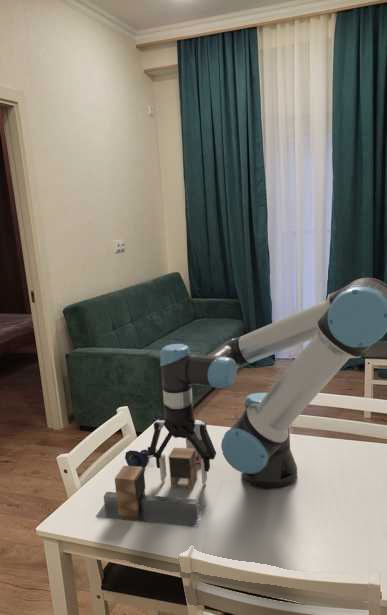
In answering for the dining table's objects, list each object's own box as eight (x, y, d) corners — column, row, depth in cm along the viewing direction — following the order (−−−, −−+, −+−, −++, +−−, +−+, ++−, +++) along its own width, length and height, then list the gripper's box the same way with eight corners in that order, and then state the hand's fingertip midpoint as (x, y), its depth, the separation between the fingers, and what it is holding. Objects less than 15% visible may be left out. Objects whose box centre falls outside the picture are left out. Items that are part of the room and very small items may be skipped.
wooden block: (147, 502, 123) (144, 466, 121) (139, 517, 118) (135, 479, 116) (127, 500, 125) (123, 465, 123) (118, 515, 119) (114, 478, 117)
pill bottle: (204, 452, 149) (202, 417, 147) (209, 461, 143) (207, 426, 141) (185, 455, 148) (182, 420, 146) (189, 465, 142) (186, 429, 140)
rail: (206, 507, 121) (205, 491, 120) (198, 531, 113) (197, 513, 112) (110, 499, 128) (108, 483, 127) (95, 520, 119) (93, 504, 118)
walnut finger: (176, 480, 134) (173, 447, 132) (197, 482, 133) (195, 448, 131) (171, 491, 129) (168, 457, 127) (192, 493, 128) (190, 458, 126)
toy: (163, 442, 151) (145, 453, 136) (163, 465, 150) (144, 478, 136) (139, 440, 153) (118, 450, 139) (138, 463, 153) (117, 475, 138)
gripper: (224, 399, 127) (228, 475, 132) (141, 396, 133) (147, 469, 137) (219, 411, 120) (223, 491, 125) (131, 407, 126) (138, 484, 130)
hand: (184, 479), depth 131 cm, fingers open, 11 cm apart
